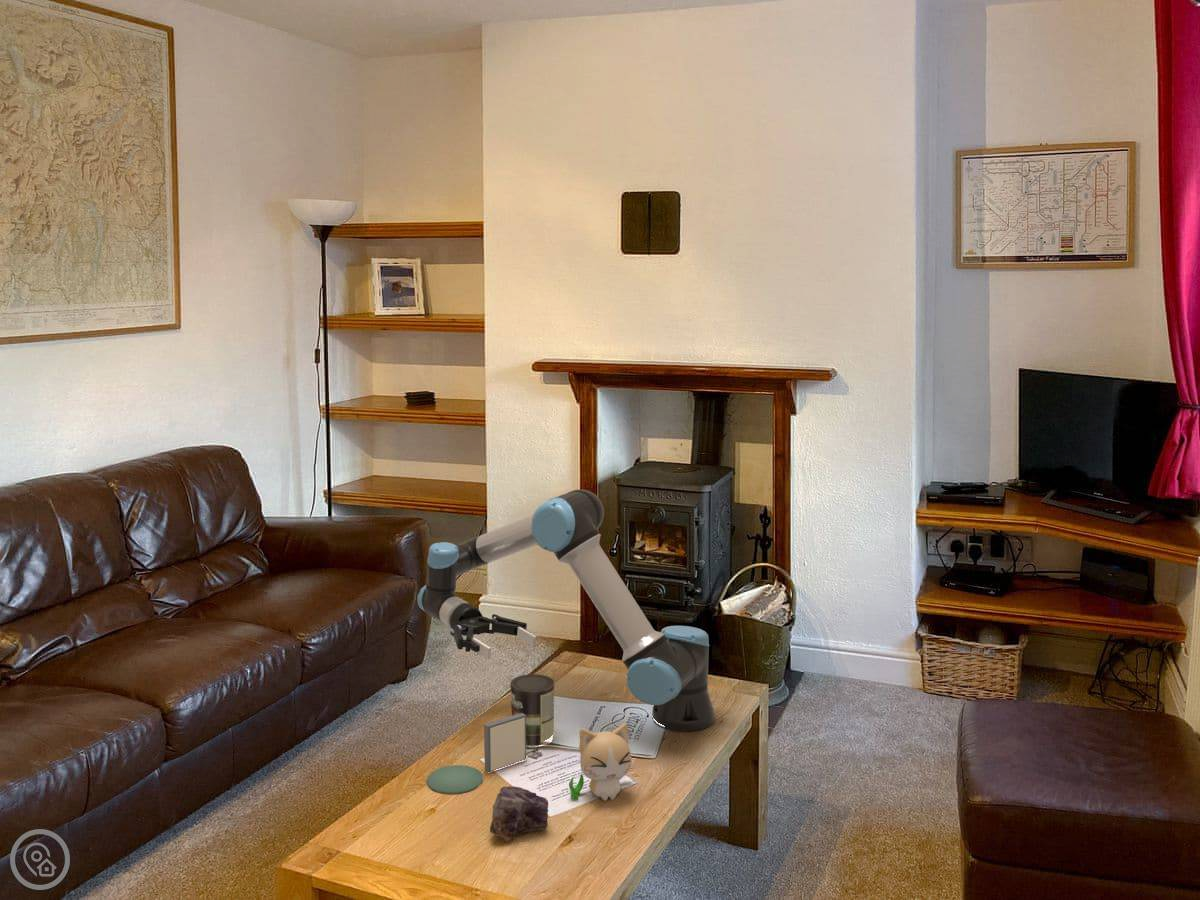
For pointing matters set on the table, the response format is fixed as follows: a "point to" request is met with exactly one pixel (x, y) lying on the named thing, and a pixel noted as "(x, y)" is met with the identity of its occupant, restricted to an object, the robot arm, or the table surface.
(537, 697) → the coffee can
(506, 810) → the rock
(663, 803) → the table surface
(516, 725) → the slate tile
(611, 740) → the kitten
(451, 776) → the coaster
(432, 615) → the robot arm
